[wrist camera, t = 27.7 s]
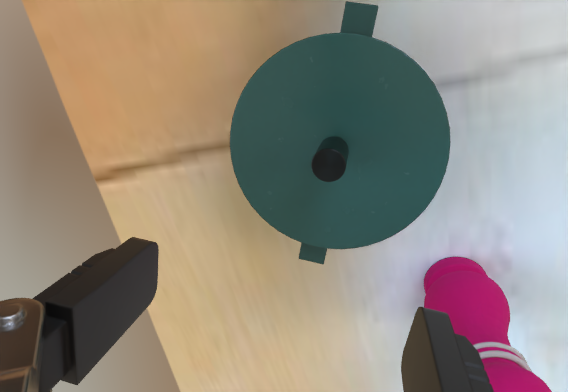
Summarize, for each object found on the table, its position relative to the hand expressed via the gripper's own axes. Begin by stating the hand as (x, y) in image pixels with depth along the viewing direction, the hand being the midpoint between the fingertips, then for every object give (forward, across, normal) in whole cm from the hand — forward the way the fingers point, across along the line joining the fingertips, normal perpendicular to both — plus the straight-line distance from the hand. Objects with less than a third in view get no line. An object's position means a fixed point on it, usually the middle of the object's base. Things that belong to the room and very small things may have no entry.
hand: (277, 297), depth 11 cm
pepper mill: (+28, -15, +13) cm, 35 cm away
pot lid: (+21, 0, 0) cm, 21 cm away
